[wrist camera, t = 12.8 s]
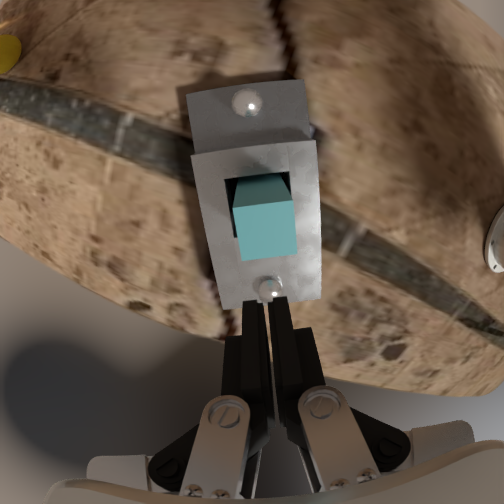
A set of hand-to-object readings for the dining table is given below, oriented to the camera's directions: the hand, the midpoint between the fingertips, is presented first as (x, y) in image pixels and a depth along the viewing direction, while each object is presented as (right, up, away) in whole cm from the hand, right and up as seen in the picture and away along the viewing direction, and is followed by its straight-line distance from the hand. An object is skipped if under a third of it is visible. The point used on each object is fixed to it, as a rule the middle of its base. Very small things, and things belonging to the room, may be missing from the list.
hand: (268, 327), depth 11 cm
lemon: (-31, +29, +7) cm, 43 cm away
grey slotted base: (0, +9, +17) cm, 19 cm away
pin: (0, +9, +17) cm, 19 cm away
